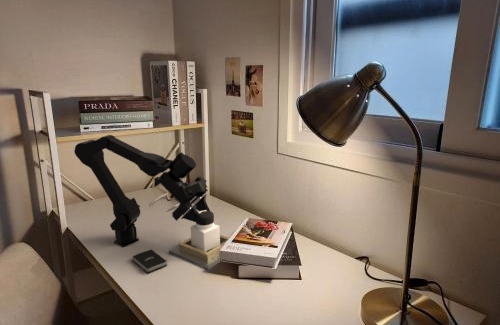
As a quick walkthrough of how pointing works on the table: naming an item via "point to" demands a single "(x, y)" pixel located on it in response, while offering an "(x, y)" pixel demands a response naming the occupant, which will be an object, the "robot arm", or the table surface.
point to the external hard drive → (149, 261)
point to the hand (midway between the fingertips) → (208, 220)
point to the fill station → (198, 253)
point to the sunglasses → (168, 198)
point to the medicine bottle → (205, 233)
